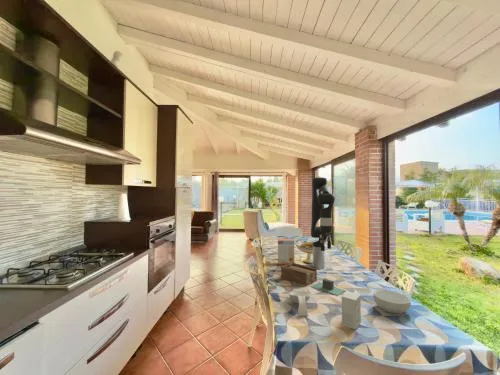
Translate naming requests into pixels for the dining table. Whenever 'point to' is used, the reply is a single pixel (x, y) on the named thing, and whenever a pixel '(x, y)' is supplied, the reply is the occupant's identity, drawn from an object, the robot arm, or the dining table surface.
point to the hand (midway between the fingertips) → (326, 249)
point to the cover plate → (335, 291)
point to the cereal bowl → (392, 301)
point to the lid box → (299, 274)
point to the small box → (351, 310)
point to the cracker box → (285, 251)
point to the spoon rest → (300, 301)
